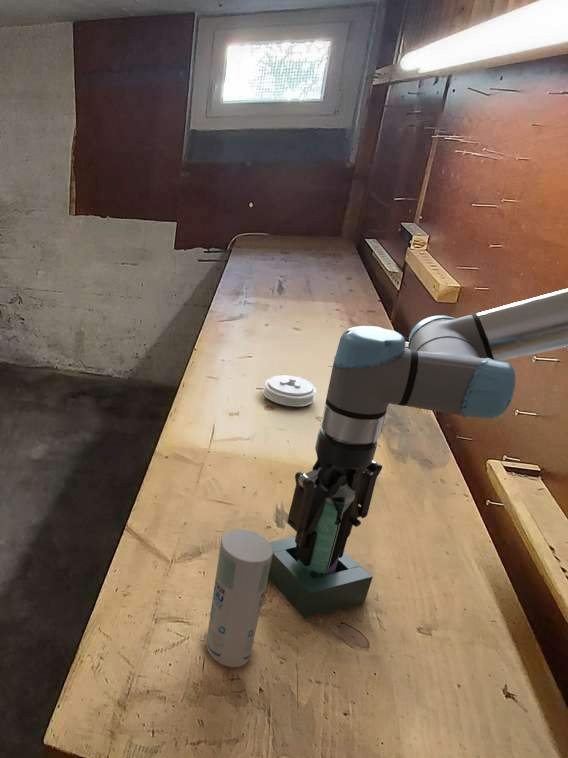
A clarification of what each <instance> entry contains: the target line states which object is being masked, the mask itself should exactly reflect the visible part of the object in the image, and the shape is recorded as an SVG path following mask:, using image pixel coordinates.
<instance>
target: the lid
mask: <svg viewBox="0 0 568 758" xmlns="http://www.w3.org/2000/svg"><path fill="white" fill-rule="evenodd" d="M264 387H265V388H264V389H263V395H264V396H265V398H267V399H268V400H270V401H272V402H274V403H276V404H278V405H279V404H280V405H282V406H287V407H288V406H289V407H305V406H309V405H311V404H312V403H314V402H315V399H316V397H315V395H316V393H317V387H316V386H315V385H314V384H313V383H311V382H310V381H309V380H307V379H304V378H302V377H299V376H295V375H286V374H285V375H284V374H282V375H275V376H272V377H270V378H268V379H266V380H265V382H264Z"/></svg>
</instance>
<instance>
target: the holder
mask: <svg viewBox="0 0 568 758" xmlns="http://www.w3.org/2000/svg"><path fill="white" fill-rule="evenodd" d="M295 538H296V535H293V536H290V537H285V538H281V539H277V540H272V541H269V542H270V544H271V546H272V548H273V556H272V561H271V565H270V570H269V574H268V580H269V581H270V582H271V583H272V585H274V586H275V588H276V589H277V590H278V592H280V593H281V595H282V596H283V597H285V599H286V600H287V601H288V603H290V604H291V606H292V607H293V608H294V609H295V610H296V611H297V612H298V614H299V615H300V616H301V617H302V618H303V620H304V619H308V618H313V617H315V616H319V615H322V614H327V613H330V612H335V611H337V610H341V609H345V608H348V607H351V606H355V605H358V604H363V603H365V602H366V600H367V596H368V593H369V590H370V587H371V584H372V581H373V578H374V576H373V575H371V573H370V572H368V570H367V569H365V567H363V566H362V565H361V564H360V563H359V562H357V561H356V560H355V559H354V558H353V557H352V556H351V555H350V554H348V553H347V552H346V551H345V550H344V552H343V556H342V557H341V558H338V562H337V565H336V569H335V573H333V574H329V575H325V576H321V577H317V578H312V577H311V576H310V575H309V574H308V573H307V572H306V571H305V570H304V569H303V568H302V567H301V566H300V565H299V564H298V563H297V562H298V558H297V557H296V556H295V555H294V553H295V548H296V543H295Z"/></svg>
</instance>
